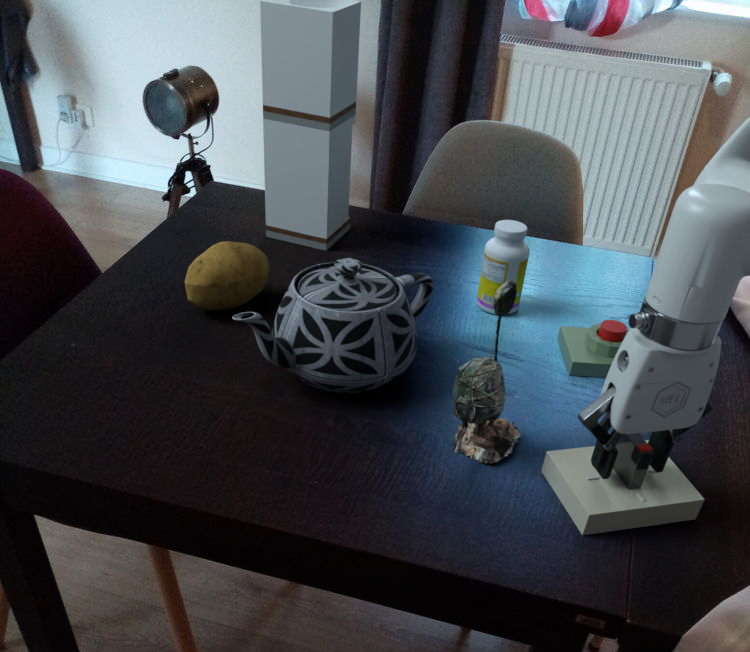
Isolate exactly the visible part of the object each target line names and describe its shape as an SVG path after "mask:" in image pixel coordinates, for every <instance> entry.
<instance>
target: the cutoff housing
mask: <svg viewBox="0 0 750 652" xmlns="http://www.w3.org/2000/svg"><path fill="white" fill-rule="evenodd" d="M601 323H602V322H599V323H596V324H591V325H590V327H585V326H584V327H583V326H568V325H560V326H559V330H558V335H557V338H556V339H557V342H558V345H559V348H560V352H561V354H562V358H563V360H564V364H565V367H566V370H567V372H568V373H567V374H568V375H569V376H573V377H588V378H603V379H604V378H605V379H606V377H607V374H608V372H609V369H610V367H611V365H612V362H613V360H614V358H615V356H616V354H617V351H618V349H619V347H620V345H621V344H622V342H623V341H622V342H619V343H618V342H609V341H606V340H603V339H602V338H600V337H599V336H598V333H599V329H600V326H601ZM629 330H630V329H627V331H626V334H625V336H626V335H627V333H628V331H629Z"/></svg>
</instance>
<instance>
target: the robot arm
mask: <svg viewBox="0 0 750 652" xmlns="http://www.w3.org/2000/svg"><path fill="white" fill-rule="evenodd" d="M664 233H665V234H664V237H663V240H662V242H661V246H660V248H659V251H658V255H657V258H656V261H655V264H654V267H653V270H652V274H651V277H650V280H649V283H648V286H647V289H646V291H645V294H644V298H643V300H642V303H641V307H640V310H639V312H637V313H631V314H630V315H629V317H628V325H629V329H628V330H629V331H628V333H627V335H626V336H625V338H624V340H623V342H622V344H621V345H620V347H619V349H618V351H617V354H616V356H615V358H614V360H613V362H612V365H611V367H610V369H609V372H608V374H607V377H606V378H605V379H604V383H603V385H602V389H601V391H600V394H599V395H600V396H598V397H597V398H596V399H595V400H594V401H592V402H591V403H590V404H589V405H587V406H586V407H585V408H584V409H583V410H581V411H579V413H578V414H577V419H578V420H579V422H580V423H581V424H582V426H583V427H584V428H585V429H586V430H587V431H588V432H590V434H592V435H593V437H594V438H595V439H596V442H595V445H594V446H595V448H594V451H593V454H592V457H591V463H592V465H593V467H594V468H595V469H596V471H597V472H598V473H599V475H600V476H601V477H602V479H608V478H609V477H610V475H611V472H612V469H613V466H614V464H615V461H616V458H617V455H618V450H617V448H616V445H617V444H618V442H619V441H620V440H621V438H622V437H623V436H624V434H636V433H639V434H645V433H650V436H649V438H648V440H649V441H648V444H649V445H650V446H651V447H652V448H653V451H654V455H653V458H652V460H651V463H650V466H651V467H652V468H653V469H654V471H656V472H662V471H663V469H664V467H665V464H666V462H667V460H668V457H669V458H670V454H671V452H672V449H673V447H674V444H677V443H679V442H681V441H682V439H683V434H684V433H686V432H688V431H689V430H690V429H691V428H693V427H694V426H696V425H697V424H698V422H700V420H701V419H703V418H704V417H705V416H707V415H708V414H710V412H712V411H713V410H714V406H713V405H712V402H711V401H710V400H709V399H710V396H711V393H712V389H713V387H714V383H715V380H716V377H717V372H718V369H719V364H720V360H721V359H720V357H721V352H722V339H721V337H720V336H719V334H720V331H721V329H722V327H723V324H724V322H725V319H726V318H727V317H726V316H727V314H728V311H729V310H730V307H731V304H732V302H733V299H734V296H735V294H736V291H737V289H738V287H739V284H740V282H741V280H742V279H743V278H744V277H745V278H746V277H750V116H749V117H747V118H746V119H745V121H743V123H741V125H739V126H738V128H737V129H736V130H735V131H734V132H733V133H732V135H730V137H729V138H728V139H727V140H726V141H725V142H724V143H723V145H722V146H721V147H720V148H719V149H718V150H717V151H716V153H715V154H714V155H713V156H712V158H710V160H709V161H708V163H707V164H706V165H705V166H704V168H703V169H702V170H701V172H700V173H699V175H698V176H697V178H696V179H695V181H694V184H693V185H692V186H689V187H687V188H686V189H684V190H683V191H682V192H681V193H680V195H679V196H678V197H677V199H676V200H675V203H674V206H673V209H672V211H671V214H670V218H669V221H668V224H667V227H666V230H665V232H664ZM601 417H602V419H601V420H600V418H601ZM599 420H600V422H599ZM611 428H613V429H612V431H611V432H610V433H609V431H610V429H611Z"/></svg>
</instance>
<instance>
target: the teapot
mask: <svg viewBox="0 0 750 652" xmlns="http://www.w3.org/2000/svg"><path fill="white" fill-rule="evenodd" d="M414 285H419V287H418V291H417V293H416V295H415V297H414V299H413V300H412V301H411V303H410V302H409V299H408V297H407V295H406V292H405V290H404V288H407V287H410V286H414ZM433 290H434V281H433V278H432V277H431V276H430V275H428V274H427V273H423V272H414V273H412V272H411V273H407V274H404V275H400V276H396V277H395V275H393V274H391V273H389V272H388V271H387V270H384V269H383V268H380V267H378V266H374V265H371V264H366V263H363V262H361V261H360V260H358V259H356V258H353V257H343V258H339V259H337V260H336V261H330V262H323V263H318V264H315V265H311V266H308V267H306V268H304V269H302V270H300V272H298V273H297V274H296V275H295V276H294V277H293V278H292V280H291V282H290V284H289V285H288V287H287V290H286V291H285V293H284V296H283V297H282V300H281V302H280V303H279V306H278V308H277V312H276V314H275V317H274V320H273V324H272V330H271V328H270V326H269V324H268V321H267V320H266V319H265V318H264V316H263V315H261V314H260V313H258V312H255V311H245V312H239V313H237V314H234V315H233V316H232V317H231V318H232V320H234V321H237V322H242V323H245V324H247V325H248V326H249V327H251V329H252V331H253V334H254V336H255V339H256V343H257V346H258V348H259V351H260V353H261V354H262V356H263V357H264V358H265V359H266V360H267V362H269V363H270V364H272V365H274V366H275V367H278V368H282V369H286V370H288V371H289V372H290V373H291V374H293V375H294V376H295V377H296V378H299V379H300V380H301V381H303V382H304V383H305V384H307V385H309V386H311V387H314V388H315V389H319V390H322V391H325V392H331V393H337V394H356V393H357V394H359V393H363V392H369V391H371V390H376V389H378V388H380V387H382V386H384V385H386V384H387V383H389V382H391V381H392V380H394V379H396V378H397V377H399V376H401V375H402V374H403V373H404V372H405V371H406V370H407V369H408V368H409V366H410V365H411V364H412V362H413V361H414V358H415V357H416V353H417V349H418V330H417V325H416V319H417V318H419V316H420V315H421V314H422V313H423V311H424V309H425V308H426V307H427V305H428V303H429V301H430V300H431V297H432V294H433Z"/></svg>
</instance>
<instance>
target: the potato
mask: <svg viewBox="0 0 750 652" xmlns="http://www.w3.org/2000/svg"><path fill="white" fill-rule="evenodd" d="M269 274H270V266H269V260H268V257H267V255H266V253H264V252H263V251H262V250H261V249H259V248H258V247H257V246H255V245H253V244H250V243H247V242H237V241H228V240H227V241H220V242H217V243H215V244H213V245H211V246H210V247H208V248H207V249H206V250H205V251H203V252H202V253H201V254H200V255H198V256H196V258H195V259H194V260H193V261H192V263H190V265H188V268H187V271H186V275H185V279H184V288H185V293H186V298H187V301H189V302H190V303H191V304H193V305H194V306H196V307H197V308H198V309H200V310H204V311H216V312H217V311H218V312H219V311H226V310H231V309H236V308H238V307H241V306H243V305H246V304H247V303H249V302H250V301H251V300H252V299H253V298H255V297H256V296H257V295H258V294H260V293H261V292H262V291H264V289H265V287H266V284H267V282H268V279H269Z"/></svg>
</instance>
